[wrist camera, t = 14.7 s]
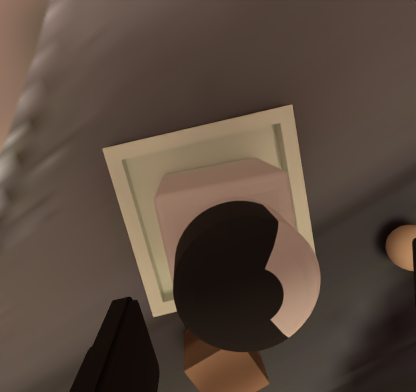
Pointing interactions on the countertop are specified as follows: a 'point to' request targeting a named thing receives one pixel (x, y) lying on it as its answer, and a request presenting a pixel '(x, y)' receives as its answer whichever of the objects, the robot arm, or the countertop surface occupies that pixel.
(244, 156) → the tray
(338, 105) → the countertop surface
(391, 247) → the cork ball
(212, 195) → the medicine bottle
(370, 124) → the countertop surface
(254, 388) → the walnut block
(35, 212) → the countertop surface
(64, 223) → the countertop surface
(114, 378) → the robot arm
